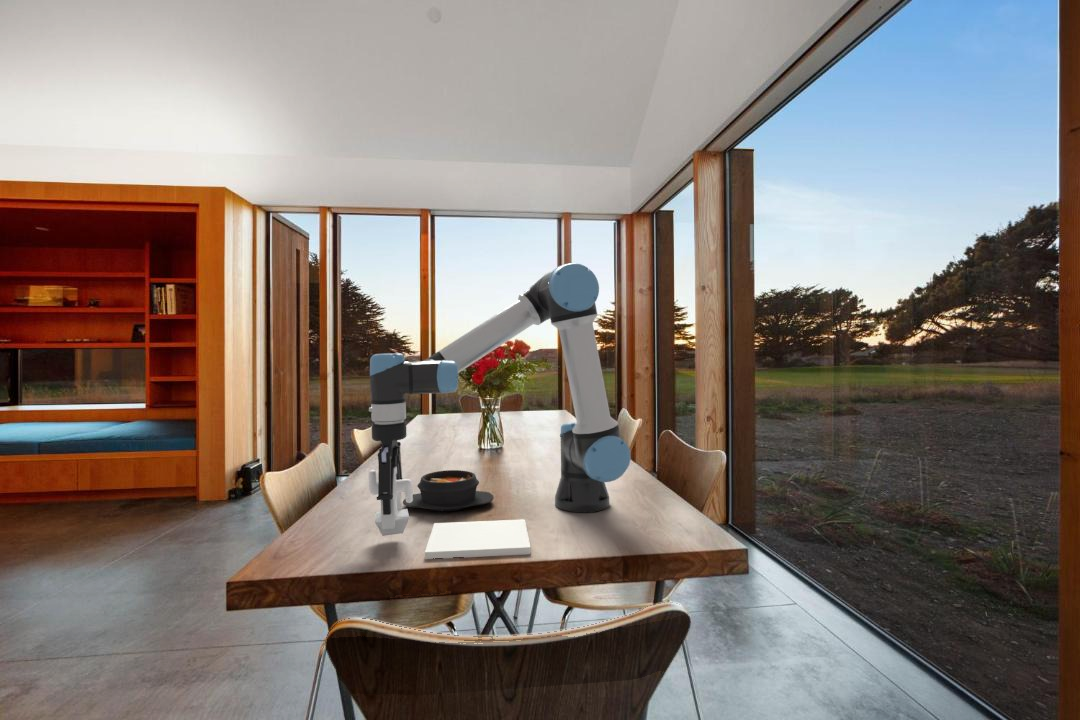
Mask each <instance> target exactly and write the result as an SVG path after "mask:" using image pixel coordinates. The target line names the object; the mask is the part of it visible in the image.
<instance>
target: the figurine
mask: <svg viewBox="0 0 1080 720" xmlns="http://www.w3.org/2000/svg"><path fill="white" fill-rule="evenodd" d="M396 474H397V466H396V467H395V468H394V478H393V498H394V512H395V528H392V529H382V524H381V511H377V512H375V514H374V515H375V516H374V518H375V519H374V520H375V521H374V523H375V525H376V526H377V529H378V530H379V533H380V535H382V537H384V536H385V537H386V536H392V535H401V534H404V531H405V529H406V526H407V524H408V522H409V520H410V516H409V511H408V508H403V509H402V510H397V492H401V493H402V492H404V495H405V498H406V502H407V503H411V502H412V501H413V482H412V480H411V479H410V478H402V479H401V480H396ZM377 479H378V478H377V472H376V470H375V469H370V470H369V471H368V490H369V493H370V494H371V495H374V496H375V495H378V480H377ZM405 498H404V499H405Z"/></svg>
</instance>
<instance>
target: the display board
mask: <svg viewBox="0 0 1080 720" xmlns="http://www.w3.org/2000/svg"><path fill="white" fill-rule="evenodd" d="M432 526H433V527H432V529H431V533H430V536H429V537H428V542H427V545H426V548H425V551H424V560H436V559H435V558H443V559H454V558H453V557H464V558H478V557H481V558H483V557H500V556H502V557H505V556H519V555H520V556H521V555H531V553H532V552H531V542H530V538H529V533H528V529H527V528H528V527H527V524H526V519H504V520H503V519H501V520H500V519H498V520H480V521H478V520H477V521H475V520H473V521H457V522H453V521H452V522H434V523H433V525H432ZM433 558H434V559H433Z"/></svg>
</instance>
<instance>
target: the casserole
mask: <svg viewBox="0 0 1080 720" xmlns="http://www.w3.org/2000/svg"><path fill="white" fill-rule="evenodd" d="M479 484H480V481H479V480H478V479H477V476H476V474H475V473H474V472H471V471H466V470H461V469H460V470H458V469H457V470H456V469H455V470H454V469H449V470H448V469H447V470H440V471H439V470H438V471H433V472H430V473H426V474H424V475H422V476H421V478H420V481H419V482H418V483H417V488H418V490H419V493H414V494H413V501H412V502H411V503H407V502H406V498H404V499H403V501H402V504H403V506H405V507H407V508H414V509H417V508H418V509H426V510H430V511H434V512H435V511H436V512H455V511H460V510H464V509H466V508H469V507H474V506H481V505H487V504H489V503H491V502H492V501H493V500H494V498H495V497H494V495H493V494H492V493H491V492H489V491H482V490H481V491H480V490H477V489H478V485H479Z"/></svg>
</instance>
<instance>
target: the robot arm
mask: <svg viewBox="0 0 1080 720" xmlns="http://www.w3.org/2000/svg"><path fill="white" fill-rule="evenodd" d="M599 285H600V284H599V281H598V278H597V276H596V275H595V273H594V272H593V271H592V270H591V269H590V268H588V267H587V266H585V265H583V264H581V263H576V262H575V263H573V262H572V263H565V264H562V265H559V266H557V267H555V268H554V269H553V270H552V271H549V272H547V273H545V274H544V275H542V276H541V278H539V279H538V280H537V281H536V282H535V283H534V284H533V285H531V286H530V287H529V288H527V289H526V290H524V291H523V292H522V293H520V294H519V295H518V299H517V300H516V301H514V302H513V303H511V304H510V305H508V306H507V307H505V308H504V309H502V310H500V311H499V312H498V313H496V314H494V315H493V316H492V317H490V318H488V319H487V320H485V321H483V322H482V323H480V324H479V325H477V326H476V327H474V328H472V329H471V330H469V331H468V332H467V333H464V334H463V335H462V336H460V337H459V338H456V339H455V340H453V341H452V342H451V343H449V344H447V345H446V346H444V347H443V348H440V350H438V351H437V352H435V353H434V354H431V355H430V356H429V357H427V358H426V359H422V360H421V361H406V360H405V356H404V354H403V353H375V354H373V355H372V356H371V357H370V360H369V387H370V388H369V389H370V390H369V391H370V404H371V405H370V407H369V408H368V412H371V413H370V414H371V421H372V422H373V423H372V424H371V439H372V440H373V441H376V442H381V447H380V448H379V450H378V453H377V458H378V459H377V462H378V463H377V464H378V478H377V479H378V480H377V482H378V494H377V496H376V501H380V512H381V524H382V529H392V528H395V512H394V498H393V478H394V468H395V467H396V466H397V474H396V480H401V479H403V473H402V471H403V470H402V455H401V444H402V443H401V440H403V439H406V437H407V422H406V421H405V420H406V419H407V405H406V403H407V402H406V395H420V394H421V395H422V394H424V395H426V394H427V395H429V394H446V393H448V394H449V393H455V392H457V390H458V388H459V373H461V372H462V371H464V370H465V369H467V368H468V367H470V366H472V365H473V364H475V363H476V362H478V361H479V360H480V359H482V358H483V357H486V356H487V355H489V354H490V353H491V352H493V351H494V350H496V349H497V348H499V347H501V346H502V345H504V344H506V342H508V341H510V340H511V339H512V338H515V337H516V336H518V335H519V334H521V333H522V332H524V331H525V330H526V329H527V330H528V328H529V327H532V326H533V325H536V326H540V325H541V324H543V323H544V322H546V321H547V320H550V324H551V325H552V326H553V327H555V328H556V329H557V330H558V334H559V337H560V344H561V348H562V355H563V358H564V364H565V369H566V374H567V375H566V376H567V380H568V385H569V389H570V395H571V400H572V404H573V411H574V414H575V415H574V416H575V421H576V422H566V423H563V424H562V425H560V434H559V437H560V478H559V482H558V485H557V488H556V493H555V496H554V506H556V507H557V508H558V509H560V510H562V511H568V512H570V513H571V512H572V513H595V512H599V511H603V510H605V509H608V508H609V506H610V496H609V491H608V489H607V486H606V483H610V482H615V481H616V480H618V479H620V478H621V477H622V476H623V475H624V474H625V472H627V470H628V469H629V466H630V462H631V449H630V447H629V445H628V443H626V441H625V440H624V439H623V438H622V436H621V431H620V427H619V423H618V421H617V420H616V419H614V418H613V417H612V416H611V414H610V408H609V402H608V396H607V391H606V387H605V386H606V385H605V381H604V376H603V371H602V365H601V360H600V354H599V349H598V344H597V339H596V334H595V329H594V321H595V320H596V318H597V317H598V311H597V306H596V305H597V304H596V302H597V300H598V297H599V294H600V293H599V292H600V286H599ZM402 508H403V507H402V492H397V510H402Z"/></svg>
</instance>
